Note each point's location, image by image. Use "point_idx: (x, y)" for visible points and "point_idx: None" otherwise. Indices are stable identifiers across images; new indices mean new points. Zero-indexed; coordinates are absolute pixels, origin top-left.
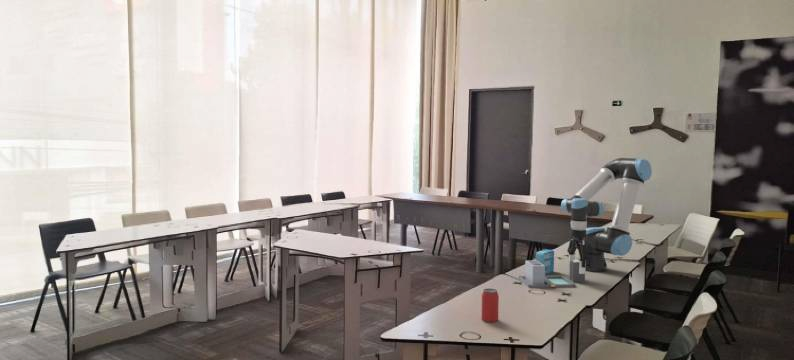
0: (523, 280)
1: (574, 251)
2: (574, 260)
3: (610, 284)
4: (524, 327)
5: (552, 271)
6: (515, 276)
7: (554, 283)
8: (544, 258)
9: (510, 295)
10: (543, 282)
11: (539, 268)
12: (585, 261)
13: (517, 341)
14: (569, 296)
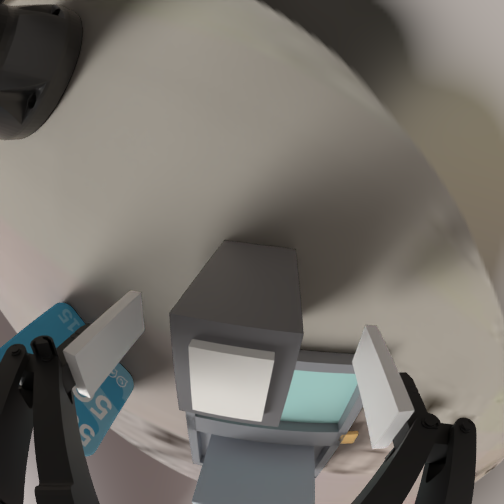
0: None
1: (63, 400)
2: (210, 404)
3: (379, 102)
4: (484, 465)
5: (72, 310)
6: (161, 446)
7: (288, 410)
8: (91, 432)
9: (356, 492)
10: (313, 457)
11: None
12: (430, 416)
13: (497, 464)
14: (450, 404)
